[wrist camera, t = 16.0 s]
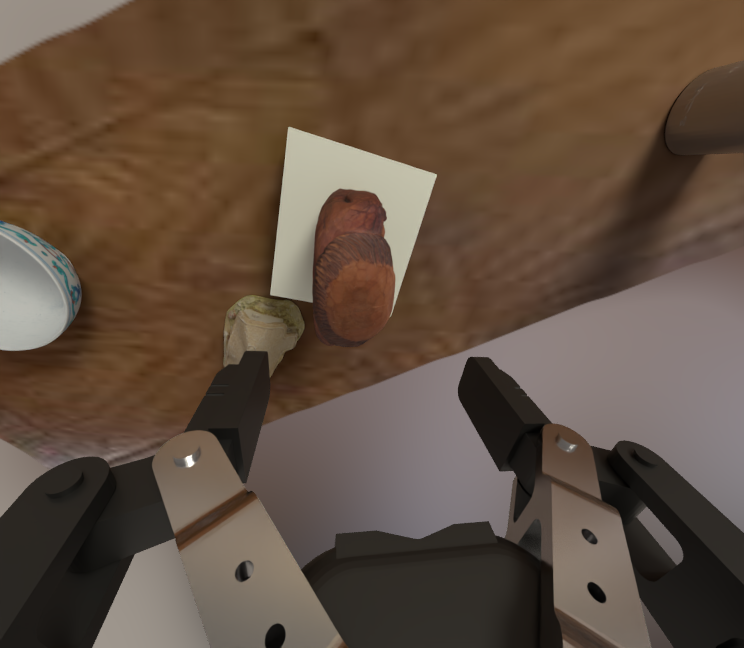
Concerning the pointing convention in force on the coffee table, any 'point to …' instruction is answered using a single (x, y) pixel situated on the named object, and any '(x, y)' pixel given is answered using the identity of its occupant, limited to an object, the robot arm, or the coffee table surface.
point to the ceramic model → (261, 329)
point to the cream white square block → (318, 181)
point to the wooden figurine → (351, 269)
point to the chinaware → (34, 290)
